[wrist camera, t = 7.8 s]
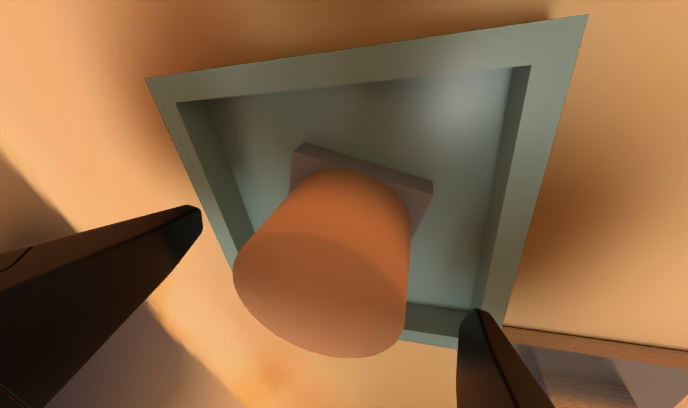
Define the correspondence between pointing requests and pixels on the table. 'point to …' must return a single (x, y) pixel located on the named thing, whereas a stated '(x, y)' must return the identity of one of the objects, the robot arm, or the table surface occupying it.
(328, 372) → the table surface
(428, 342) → the bin
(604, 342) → the stud fixture
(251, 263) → the tan cylindrical plug
